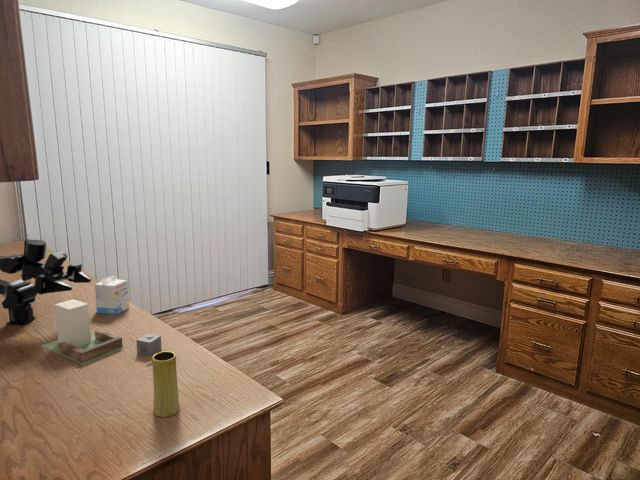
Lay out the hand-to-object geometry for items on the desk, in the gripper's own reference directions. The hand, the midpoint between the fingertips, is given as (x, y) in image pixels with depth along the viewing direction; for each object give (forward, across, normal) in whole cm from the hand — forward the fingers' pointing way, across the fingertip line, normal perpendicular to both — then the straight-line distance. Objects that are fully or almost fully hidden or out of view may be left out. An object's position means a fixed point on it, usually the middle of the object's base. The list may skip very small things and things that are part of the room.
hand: (81, 284), depth 148 cm
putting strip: (+14, -14, +13) cm, 23 cm away
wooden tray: (+17, -15, +12) cm, 25 cm away
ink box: (+3, +17, +16) cm, 23 cm away
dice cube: (+35, -12, +8) cm, 38 cm away
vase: (+55, -39, +4) cm, 68 cm away
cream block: (+9, -12, +14) cm, 20 cm away
